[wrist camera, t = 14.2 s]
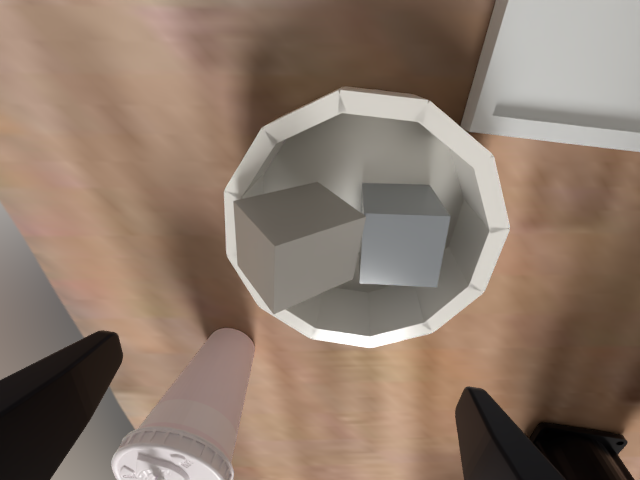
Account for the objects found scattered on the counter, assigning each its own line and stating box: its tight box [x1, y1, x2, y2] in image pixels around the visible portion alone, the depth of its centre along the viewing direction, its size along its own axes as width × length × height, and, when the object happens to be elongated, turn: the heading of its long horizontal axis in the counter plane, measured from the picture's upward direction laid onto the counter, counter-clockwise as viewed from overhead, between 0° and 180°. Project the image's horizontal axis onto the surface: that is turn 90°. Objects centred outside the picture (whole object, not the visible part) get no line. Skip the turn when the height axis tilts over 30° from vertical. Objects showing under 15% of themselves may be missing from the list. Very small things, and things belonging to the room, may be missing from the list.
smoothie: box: [111, 328, 255, 480], centre depth 20 cm, size 6×6×14 cm
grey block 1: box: [233, 182, 366, 314], centre depth 15 cm, size 4×4×4 cm
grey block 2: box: [359, 183, 451, 288], centre depth 17 cm, size 4×4×4 cm
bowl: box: [224, 86, 510, 348], centre depth 17 cm, size 13×13×5 cm
